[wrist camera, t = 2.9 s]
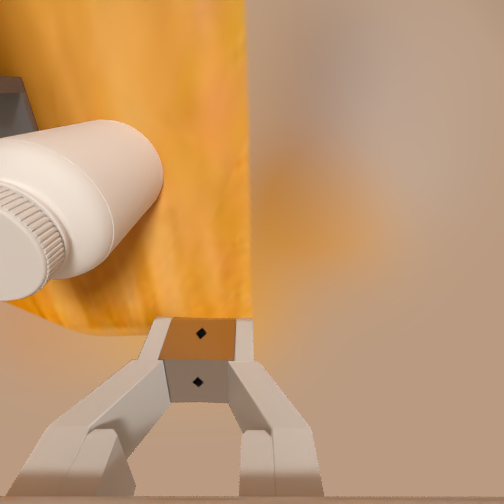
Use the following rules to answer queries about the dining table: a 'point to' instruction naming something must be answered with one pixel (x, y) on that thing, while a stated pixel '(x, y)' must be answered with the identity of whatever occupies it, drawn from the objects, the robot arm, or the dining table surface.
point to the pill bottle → (70, 200)
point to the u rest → (15, 108)
